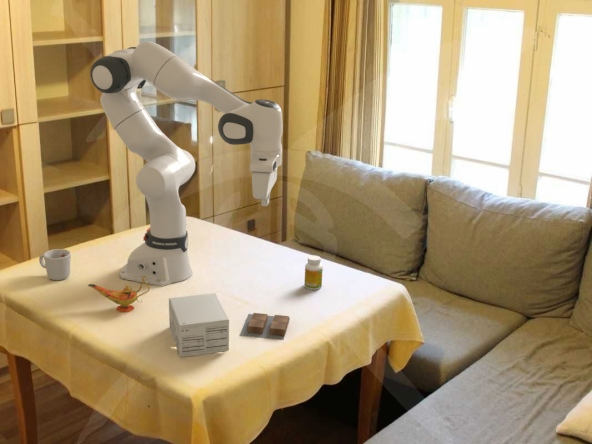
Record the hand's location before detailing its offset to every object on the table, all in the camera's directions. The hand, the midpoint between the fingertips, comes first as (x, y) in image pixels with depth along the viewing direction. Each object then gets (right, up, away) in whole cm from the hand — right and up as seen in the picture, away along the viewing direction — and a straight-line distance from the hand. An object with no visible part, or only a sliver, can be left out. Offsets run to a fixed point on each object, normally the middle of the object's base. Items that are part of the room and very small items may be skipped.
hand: (265, 204), depth 216 cm
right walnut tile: (+5, -32, -6) cm, 33 cm away
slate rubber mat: (0, -34, -9) cm, 35 cm away
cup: (-66, -22, +18) cm, 72 cm away
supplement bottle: (+14, -25, +18) cm, 34 cm away
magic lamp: (-42, -30, -1) cm, 51 cm away
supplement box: (-17, -37, -16) cm, 43 cm away
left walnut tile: (-1, -31, -6) cm, 32 cm away
